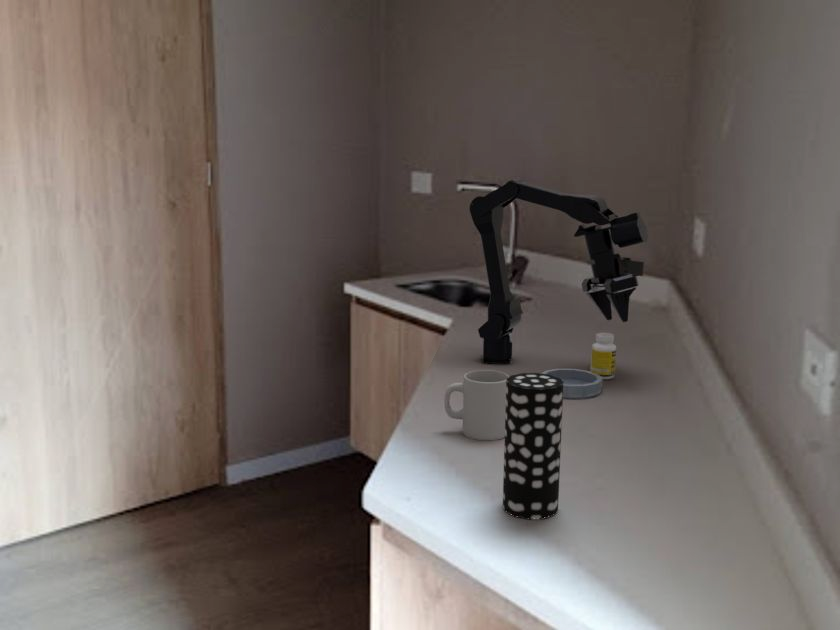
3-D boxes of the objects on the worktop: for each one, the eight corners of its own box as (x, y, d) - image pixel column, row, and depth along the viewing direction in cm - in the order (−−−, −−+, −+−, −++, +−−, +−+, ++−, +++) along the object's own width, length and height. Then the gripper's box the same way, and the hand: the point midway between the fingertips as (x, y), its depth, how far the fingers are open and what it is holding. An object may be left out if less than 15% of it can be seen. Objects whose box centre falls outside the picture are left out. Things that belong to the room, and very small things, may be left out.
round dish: (543, 398, 191) (544, 386, 191) (535, 380, 204) (535, 368, 204) (606, 399, 191) (607, 386, 191) (594, 380, 204) (595, 368, 204)
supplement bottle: (614, 380, 204) (617, 338, 202) (589, 379, 206) (592, 336, 203) (614, 374, 210) (617, 332, 208) (590, 372, 211) (592, 331, 209)
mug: (508, 425, 175) (509, 370, 173) (508, 441, 167) (510, 383, 164) (445, 423, 176) (445, 368, 173) (442, 439, 168) (443, 381, 165)
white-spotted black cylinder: (498, 497, 143) (501, 373, 138) (551, 495, 143) (556, 372, 139) (507, 520, 135) (511, 389, 130) (563, 518, 135) (569, 388, 131)
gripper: (652, 241, 194) (668, 313, 196) (618, 245, 213) (634, 310, 214) (603, 254, 193) (620, 326, 194) (574, 256, 211) (589, 322, 212)
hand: (617, 320), depth 204 cm, fingers open, 9 cm apart
